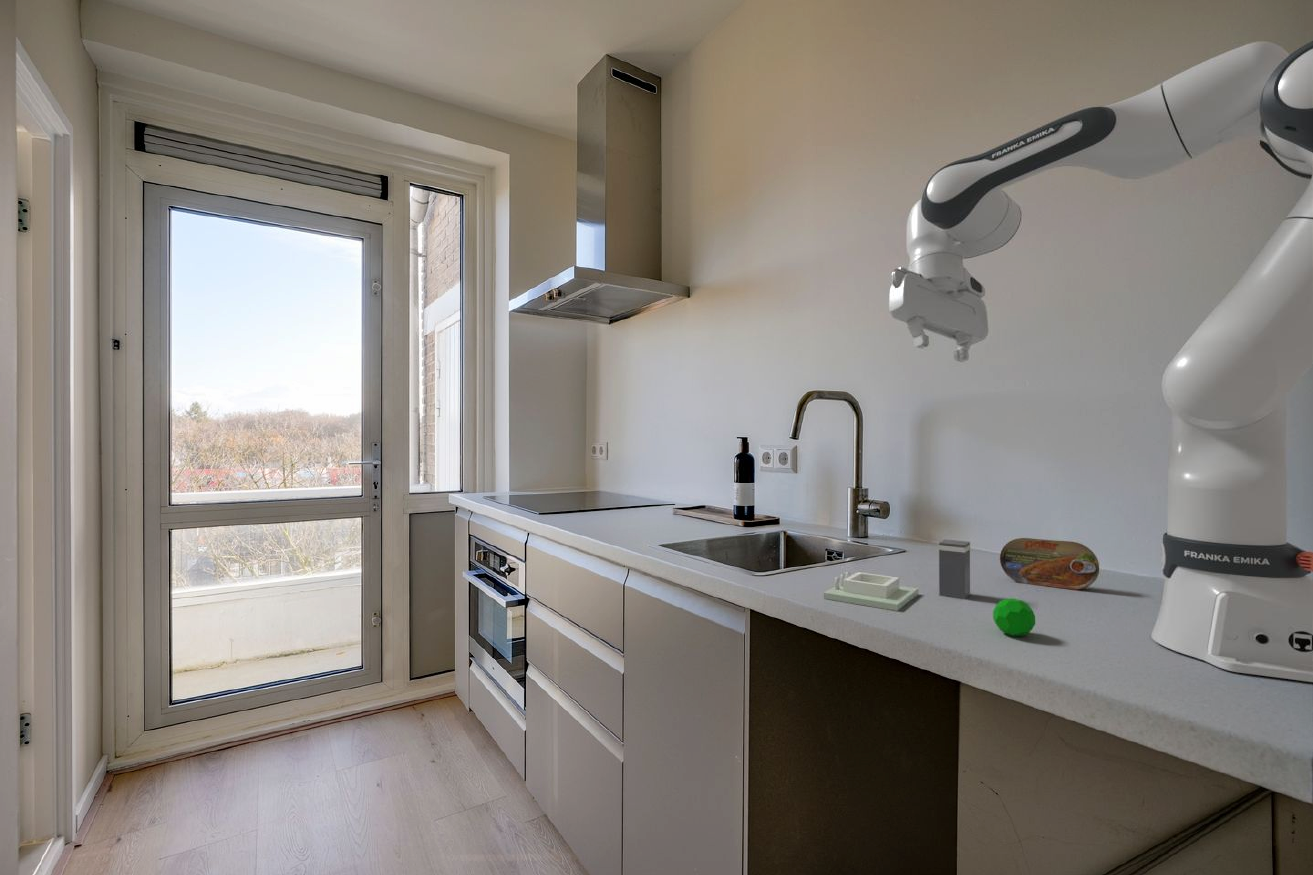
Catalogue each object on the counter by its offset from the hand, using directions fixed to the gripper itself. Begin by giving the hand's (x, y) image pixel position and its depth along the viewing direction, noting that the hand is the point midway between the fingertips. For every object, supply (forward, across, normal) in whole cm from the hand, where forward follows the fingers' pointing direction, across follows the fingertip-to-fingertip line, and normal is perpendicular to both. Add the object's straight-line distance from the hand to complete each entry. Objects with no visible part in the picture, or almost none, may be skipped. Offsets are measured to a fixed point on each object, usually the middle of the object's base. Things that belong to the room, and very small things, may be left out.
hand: (942, 353), depth 102 cm
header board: (+40, -2, +16) cm, 43 cm away
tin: (+35, +31, +7) cm, 48 cm away
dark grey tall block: (+38, +11, +10) cm, 41 cm away
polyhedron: (+45, +2, -6) cm, 45 cm away
